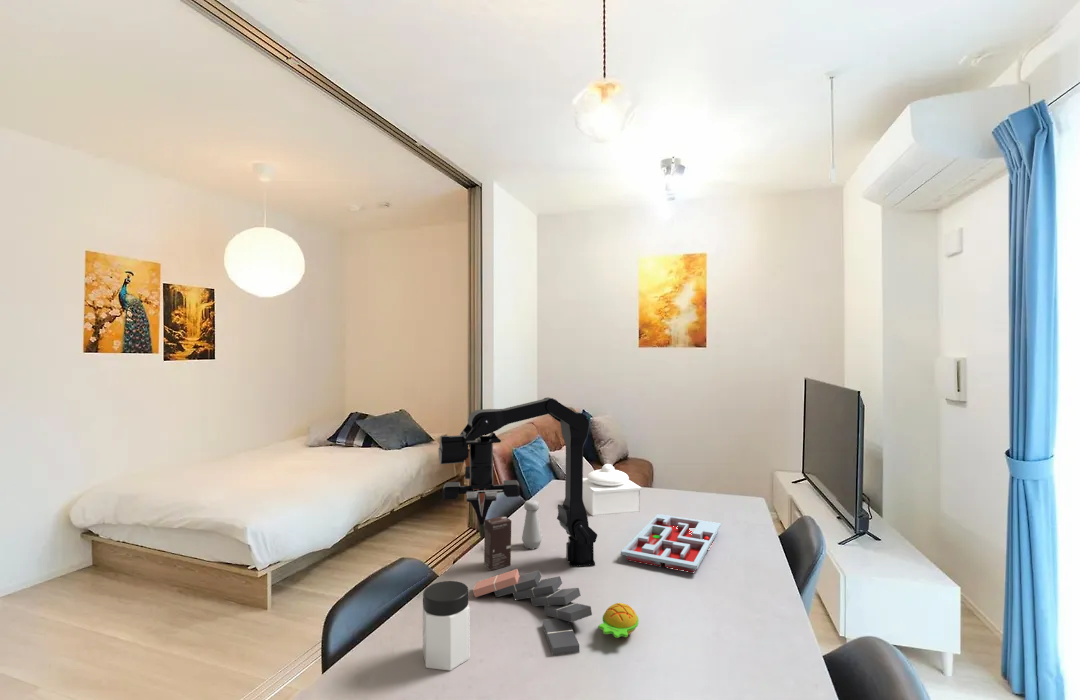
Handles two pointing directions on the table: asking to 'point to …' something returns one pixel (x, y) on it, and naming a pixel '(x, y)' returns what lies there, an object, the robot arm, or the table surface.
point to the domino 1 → (496, 583)
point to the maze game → (672, 542)
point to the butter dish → (610, 492)
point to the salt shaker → (531, 525)
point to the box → (497, 543)
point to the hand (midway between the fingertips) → (481, 524)
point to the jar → (446, 625)
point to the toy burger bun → (619, 620)
